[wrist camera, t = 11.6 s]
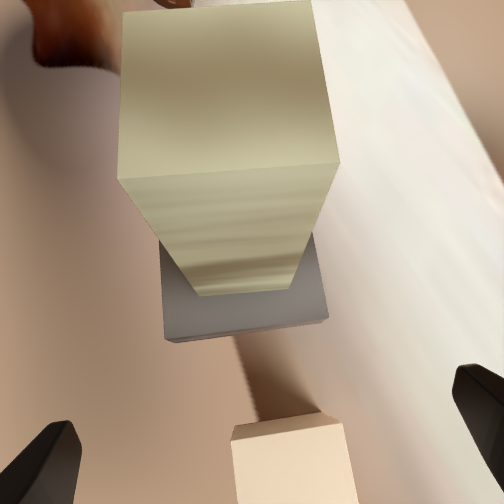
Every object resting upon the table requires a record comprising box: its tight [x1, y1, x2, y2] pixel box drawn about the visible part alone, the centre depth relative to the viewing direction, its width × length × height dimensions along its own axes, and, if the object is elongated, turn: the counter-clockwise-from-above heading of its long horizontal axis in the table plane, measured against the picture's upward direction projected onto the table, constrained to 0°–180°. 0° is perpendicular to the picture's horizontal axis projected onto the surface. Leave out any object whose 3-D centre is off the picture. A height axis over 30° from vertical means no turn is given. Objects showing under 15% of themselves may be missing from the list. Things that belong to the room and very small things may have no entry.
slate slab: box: [159, 233, 329, 343], centre depth 23 cm, size 9×9×3 cm
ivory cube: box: [230, 412, 359, 504], centre depth 18 cm, size 5×5×5 cm
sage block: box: [117, 0, 340, 297], centre depth 15 cm, size 5×5×13 cm
